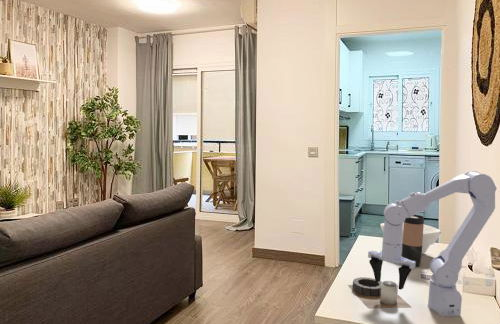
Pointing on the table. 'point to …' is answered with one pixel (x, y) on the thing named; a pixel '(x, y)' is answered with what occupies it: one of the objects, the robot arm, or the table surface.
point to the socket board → (378, 303)
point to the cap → (389, 292)
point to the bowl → (425, 236)
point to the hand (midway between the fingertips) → (389, 284)
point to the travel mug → (413, 238)
